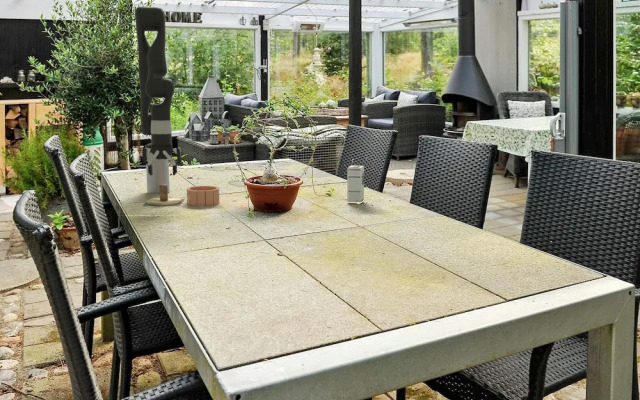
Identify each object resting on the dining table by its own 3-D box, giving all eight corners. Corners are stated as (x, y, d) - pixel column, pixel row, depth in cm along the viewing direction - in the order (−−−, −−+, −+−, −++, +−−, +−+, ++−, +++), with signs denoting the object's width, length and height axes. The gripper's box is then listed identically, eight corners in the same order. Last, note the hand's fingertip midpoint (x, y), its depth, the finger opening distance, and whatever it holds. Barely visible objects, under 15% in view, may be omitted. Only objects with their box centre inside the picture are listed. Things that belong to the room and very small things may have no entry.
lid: (150, 199, 254) (149, 182, 253) (183, 199, 255) (183, 182, 253) (143, 205, 241) (142, 187, 240) (178, 205, 242) (177, 187, 240)
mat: (149, 200, 254) (149, 199, 254) (185, 200, 255) (185, 199, 255) (141, 207, 241) (141, 206, 241) (179, 207, 241) (179, 206, 241)
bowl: (190, 200, 254) (189, 185, 253) (220, 200, 255) (220, 185, 254) (185, 206, 242) (184, 191, 241) (217, 206, 243) (217, 191, 242)
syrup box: (361, 204, 250) (362, 167, 248) (346, 203, 251) (347, 166, 249) (363, 201, 256) (364, 165, 253) (349, 201, 257) (349, 165, 254)
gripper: (182, 131, 247) (183, 173, 250) (144, 131, 246) (146, 173, 249) (178, 133, 239) (180, 176, 242) (139, 133, 239) (141, 176, 242)
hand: (162, 175), depth 246 cm, fingers open, 8 cm apart
